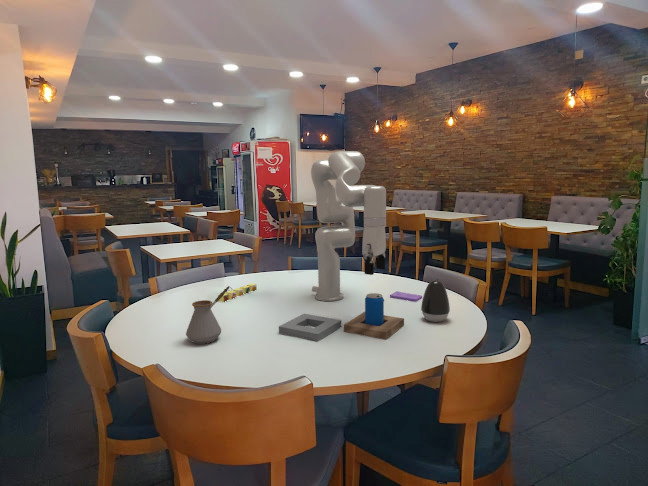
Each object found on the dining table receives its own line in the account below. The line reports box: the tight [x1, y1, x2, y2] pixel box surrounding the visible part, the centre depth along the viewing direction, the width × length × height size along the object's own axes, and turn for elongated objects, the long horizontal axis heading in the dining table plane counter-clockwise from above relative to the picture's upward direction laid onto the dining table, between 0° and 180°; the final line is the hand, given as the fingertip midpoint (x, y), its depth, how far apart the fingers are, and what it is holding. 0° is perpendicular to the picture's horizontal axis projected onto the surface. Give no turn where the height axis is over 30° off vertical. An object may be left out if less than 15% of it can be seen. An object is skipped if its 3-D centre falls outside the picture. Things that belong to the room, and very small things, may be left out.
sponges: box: [389, 290, 423, 303], centre depth 197 cm, size 7×13×2 cm, turn 54°
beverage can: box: [364, 292, 385, 326], centre depth 159 cm, size 6×6×12 cm
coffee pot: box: [185, 285, 233, 345], centre depth 155 cm, size 21×12×15 cm, turn 155°
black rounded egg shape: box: [420, 278, 451, 323], centre depth 167 cm, size 10×10×15 cm
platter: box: [217, 283, 258, 303], centre depth 206 cm, size 32×32×3 cm
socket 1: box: [278, 313, 343, 342], centre depth 159 cm, size 16×16×2 cm
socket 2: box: [343, 311, 405, 340], centre depth 160 cm, size 16×16×2 cm
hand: (375, 271), depth 157 cm, fingers open, 9 cm apart
